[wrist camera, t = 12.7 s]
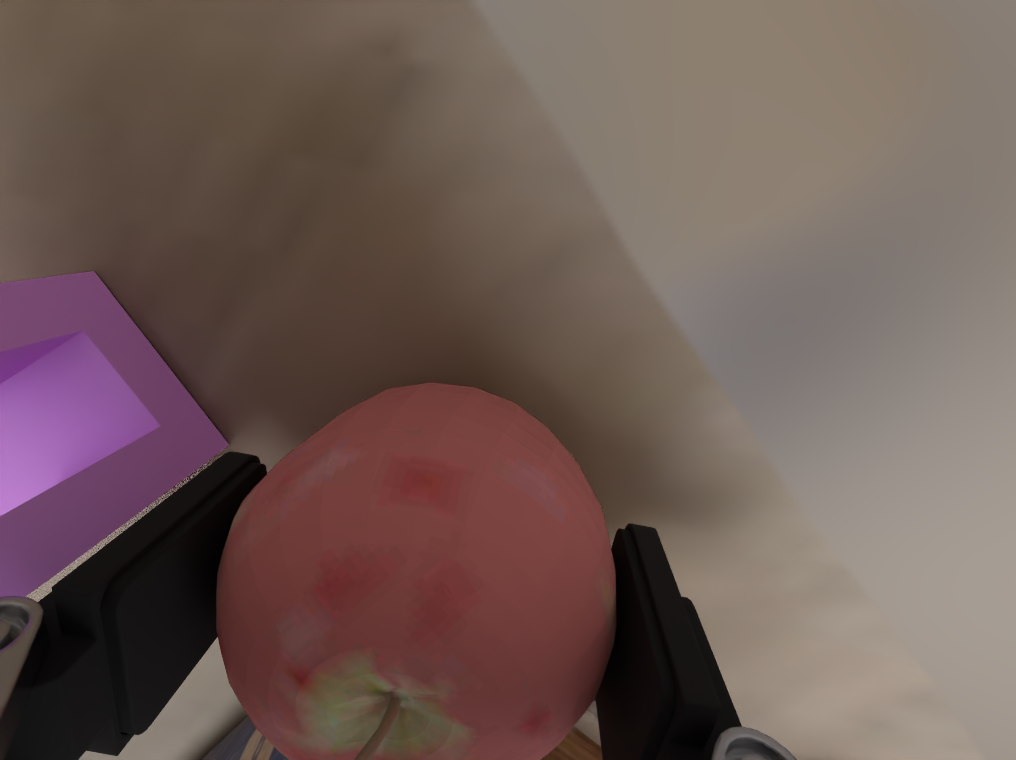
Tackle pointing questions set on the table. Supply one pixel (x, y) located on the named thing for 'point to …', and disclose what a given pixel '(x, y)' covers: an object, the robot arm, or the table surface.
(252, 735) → the book
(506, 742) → the apple
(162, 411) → the bracket
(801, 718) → the table surface
